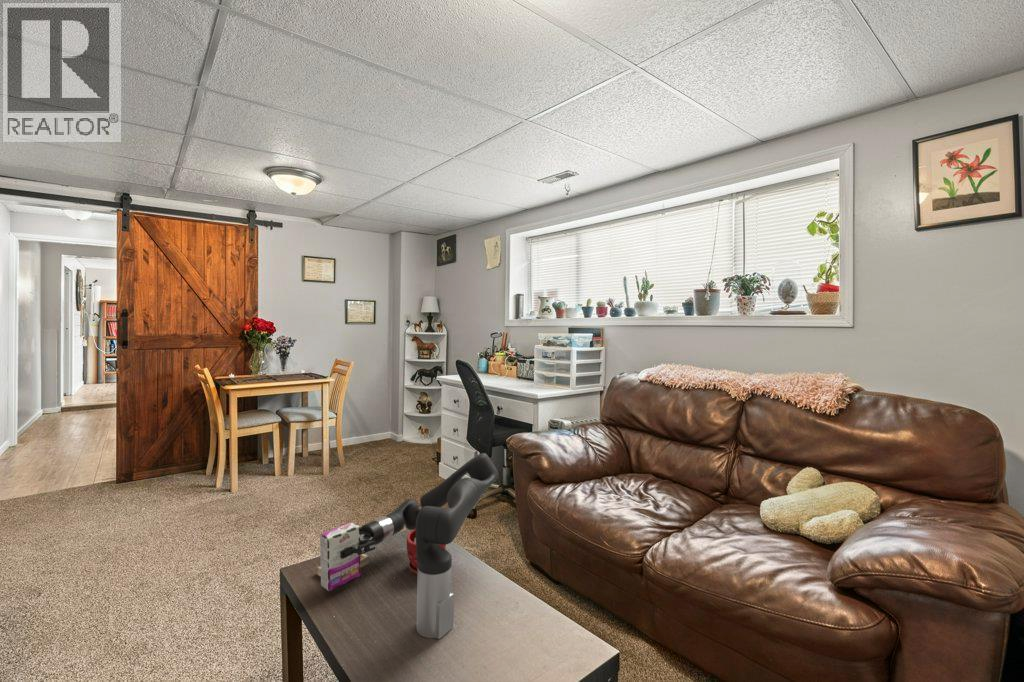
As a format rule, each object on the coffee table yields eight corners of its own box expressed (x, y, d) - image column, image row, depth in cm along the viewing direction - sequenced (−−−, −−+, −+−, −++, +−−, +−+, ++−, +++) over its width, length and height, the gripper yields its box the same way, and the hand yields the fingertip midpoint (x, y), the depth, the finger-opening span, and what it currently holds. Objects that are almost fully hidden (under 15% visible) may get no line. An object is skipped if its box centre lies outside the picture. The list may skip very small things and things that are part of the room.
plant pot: (402, 563, 163) (403, 529, 163) (439, 556, 169) (440, 523, 168) (411, 583, 151) (411, 546, 151) (450, 575, 157) (451, 539, 156)
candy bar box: (351, 570, 153) (352, 521, 152) (360, 576, 150) (361, 525, 149) (319, 585, 144) (319, 533, 143) (328, 592, 141) (328, 538, 140)
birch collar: (369, 563, 163) (369, 556, 163) (334, 582, 151) (334, 574, 151) (352, 556, 168) (352, 549, 167) (316, 574, 155) (316, 567, 155)
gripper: (392, 548, 156) (350, 571, 141) (362, 536, 163) (319, 557, 149) (392, 525, 155) (350, 547, 141) (362, 515, 163) (319, 534, 148)
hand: (334, 552), depth 145 cm, fingers closed on candy bar box, 5 cm apart
